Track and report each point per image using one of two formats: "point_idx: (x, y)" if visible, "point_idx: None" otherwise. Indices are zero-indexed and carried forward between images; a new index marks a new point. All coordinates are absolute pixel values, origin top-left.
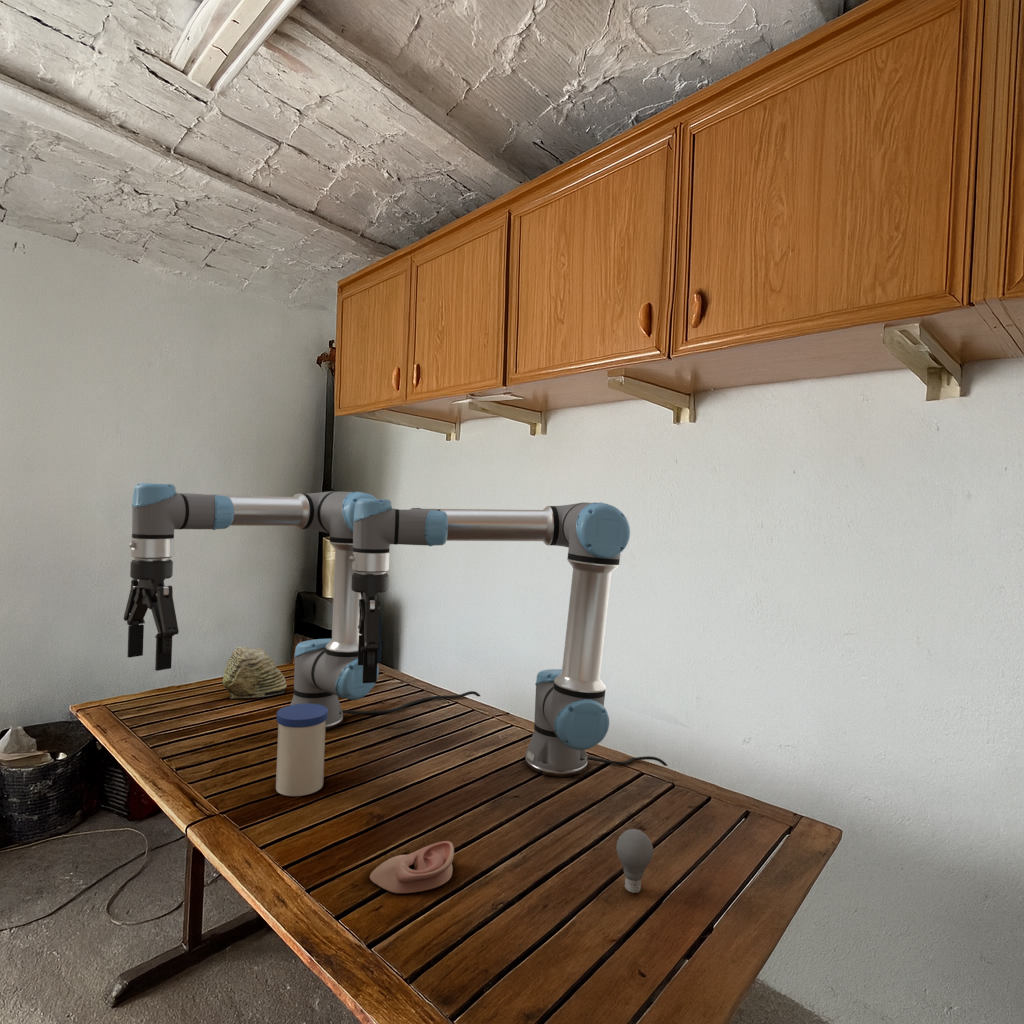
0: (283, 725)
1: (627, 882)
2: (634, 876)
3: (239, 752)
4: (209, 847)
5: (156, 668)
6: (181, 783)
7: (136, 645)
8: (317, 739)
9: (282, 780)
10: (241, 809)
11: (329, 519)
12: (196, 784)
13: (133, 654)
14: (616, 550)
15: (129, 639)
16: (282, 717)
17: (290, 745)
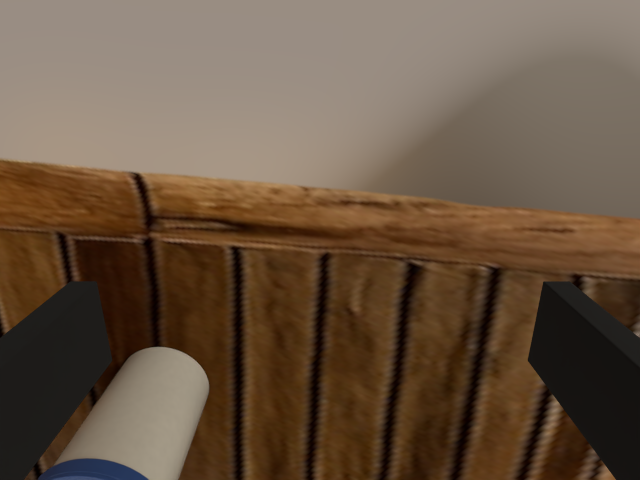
0: (75, 459)
1: None
2: None
3: (396, 384)
4: (24, 164)
5: (67, 288)
6: (336, 243)
7: (577, 373)
8: None
9: (139, 364)
10: (138, 271)
11: None
12: (309, 261)
13: (547, 317)
14: None
15: (632, 362)
16: (70, 478)
17: (84, 427)
